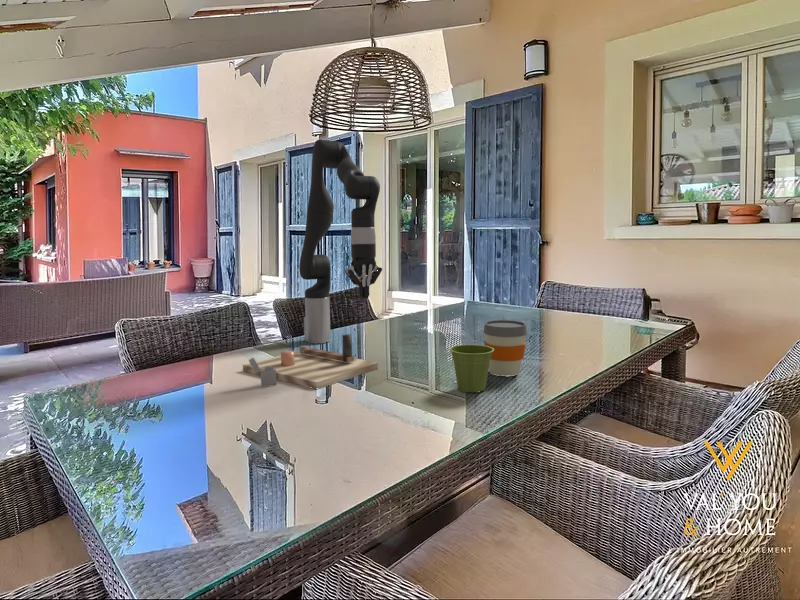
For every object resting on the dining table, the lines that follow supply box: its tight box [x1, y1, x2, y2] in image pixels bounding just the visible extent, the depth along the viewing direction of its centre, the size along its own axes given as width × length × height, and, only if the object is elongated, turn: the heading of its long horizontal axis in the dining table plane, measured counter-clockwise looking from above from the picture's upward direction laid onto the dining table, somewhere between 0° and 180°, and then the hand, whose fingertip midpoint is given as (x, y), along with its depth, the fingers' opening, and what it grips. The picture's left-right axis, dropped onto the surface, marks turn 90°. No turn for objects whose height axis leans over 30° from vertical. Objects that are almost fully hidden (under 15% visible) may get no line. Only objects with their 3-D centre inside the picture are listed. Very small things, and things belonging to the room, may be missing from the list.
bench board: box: [242, 350, 379, 389], centre depth 165 cm, size 32×26×2 cm
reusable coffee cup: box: [483, 319, 528, 375], centre depth 159 cm, size 13×13×15 cm
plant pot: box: [448, 344, 494, 393], centre depth 143 cm, size 12×12×11 cm
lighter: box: [248, 357, 278, 387], centre depth 149 cm, size 7×2×8 cm, turn 106°
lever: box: [299, 333, 355, 362], centre depth 170 cm, size 22×3×8 cm, turn 53°
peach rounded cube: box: [280, 350, 295, 366], centre depth 163 cm, size 4×4×4 cm
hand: (364, 298), depth 167 cm, fingers closed
